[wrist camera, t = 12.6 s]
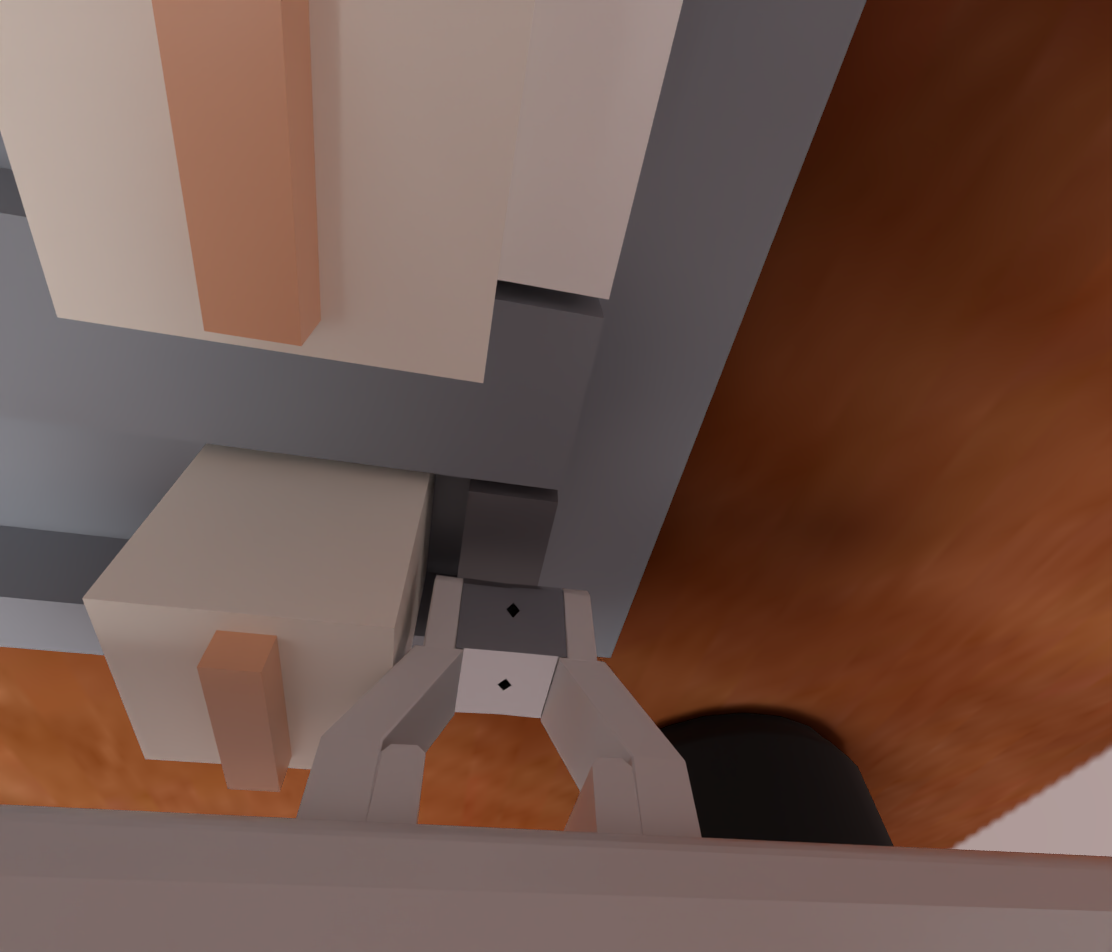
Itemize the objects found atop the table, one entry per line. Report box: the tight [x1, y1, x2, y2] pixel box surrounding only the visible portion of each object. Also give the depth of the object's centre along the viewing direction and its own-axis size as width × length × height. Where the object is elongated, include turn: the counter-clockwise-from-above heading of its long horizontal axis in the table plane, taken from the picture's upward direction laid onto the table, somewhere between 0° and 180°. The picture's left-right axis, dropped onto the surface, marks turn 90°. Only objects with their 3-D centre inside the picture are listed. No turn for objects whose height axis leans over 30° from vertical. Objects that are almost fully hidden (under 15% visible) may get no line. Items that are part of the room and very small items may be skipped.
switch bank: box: [0, 0, 866, 658], centre depth 10 cm, size 18×26×4 cm
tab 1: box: [0, 0, 535, 383], centre depth 6 cm, size 4×4×6 cm
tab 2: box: [82, 444, 435, 792], centre depth 11 cm, size 4×4×6 cm
